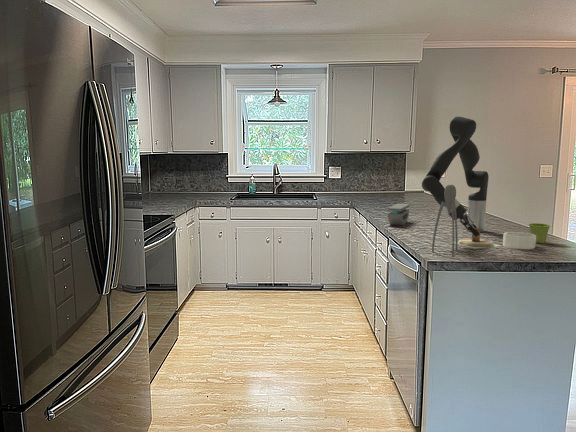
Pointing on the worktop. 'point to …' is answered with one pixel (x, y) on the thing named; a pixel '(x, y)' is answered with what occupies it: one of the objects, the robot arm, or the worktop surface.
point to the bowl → (519, 240)
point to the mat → (478, 247)
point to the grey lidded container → (398, 214)
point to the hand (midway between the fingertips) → (478, 233)
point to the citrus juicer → (450, 204)
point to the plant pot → (539, 231)
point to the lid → (476, 241)
